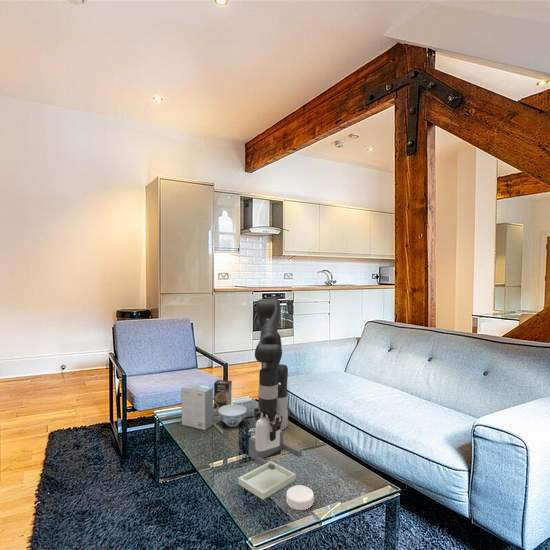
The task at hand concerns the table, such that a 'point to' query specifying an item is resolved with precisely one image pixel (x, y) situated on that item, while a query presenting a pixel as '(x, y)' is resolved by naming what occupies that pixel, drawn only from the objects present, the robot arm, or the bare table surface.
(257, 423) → the photo printer
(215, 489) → the table surface
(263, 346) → the robot arm
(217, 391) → the coffee box
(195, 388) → the hard drive box
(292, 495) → the white round puck
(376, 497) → the table surface
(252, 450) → the dock
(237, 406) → the chinaware
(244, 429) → the table surface
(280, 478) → the tray
